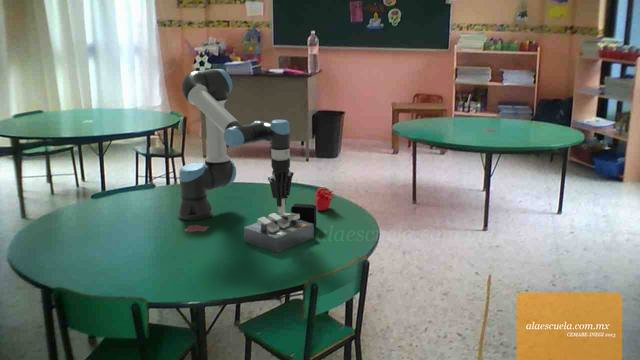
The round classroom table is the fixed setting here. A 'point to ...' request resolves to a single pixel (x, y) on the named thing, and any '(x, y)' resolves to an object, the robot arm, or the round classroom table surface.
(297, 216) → the rocker far
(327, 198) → the heart organ
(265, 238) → the console
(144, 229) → the round classroom table surface
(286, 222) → the rocker mid
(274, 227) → the rocker near
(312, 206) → the electronic device
